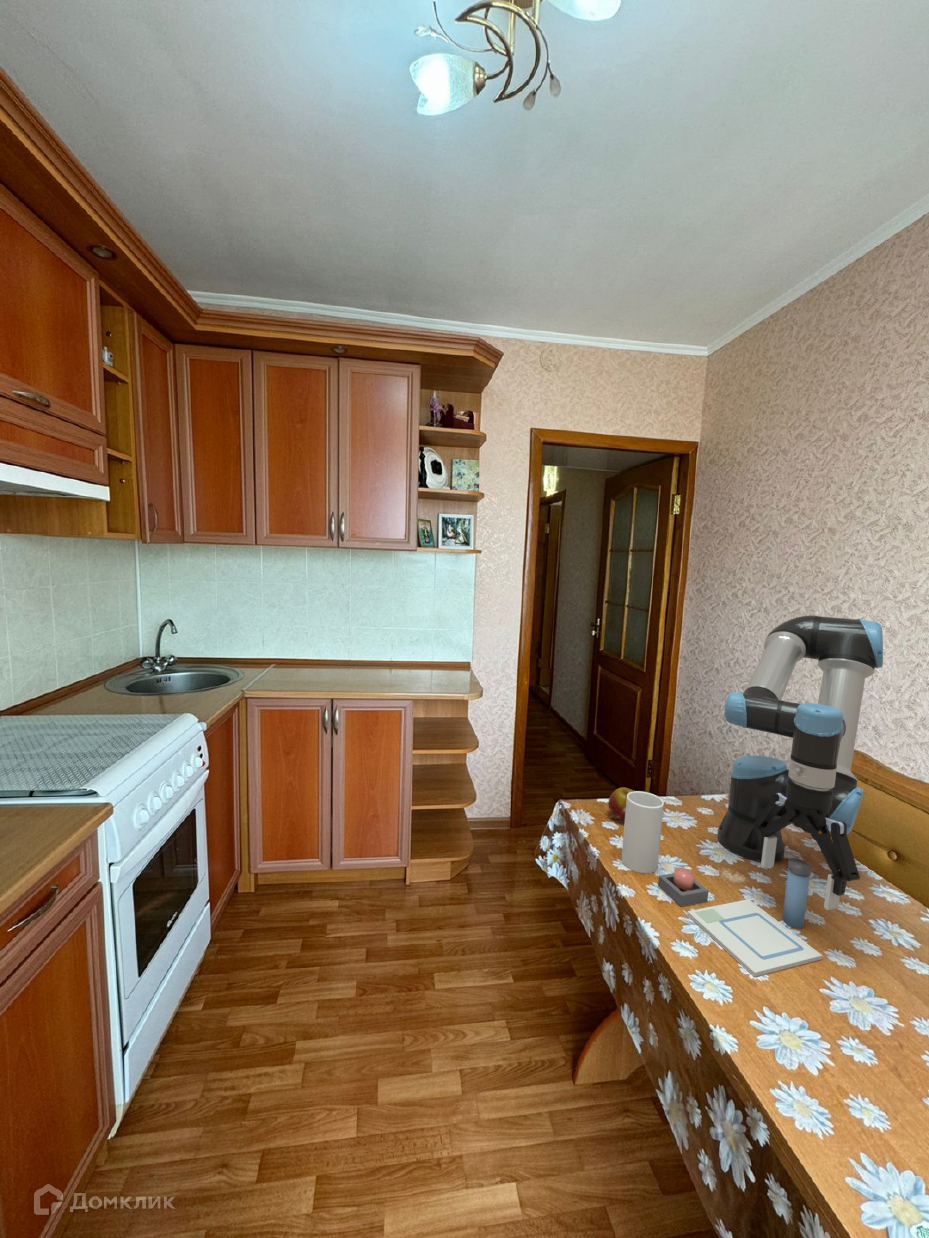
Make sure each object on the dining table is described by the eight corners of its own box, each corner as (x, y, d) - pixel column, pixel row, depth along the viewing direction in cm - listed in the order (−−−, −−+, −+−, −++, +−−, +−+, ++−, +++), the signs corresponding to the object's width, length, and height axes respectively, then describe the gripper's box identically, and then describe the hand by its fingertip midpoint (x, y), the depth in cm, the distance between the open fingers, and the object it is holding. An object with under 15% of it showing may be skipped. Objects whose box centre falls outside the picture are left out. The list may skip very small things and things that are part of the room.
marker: (791, 914, 104) (798, 857, 102) (808, 926, 100) (816, 867, 99) (777, 917, 103) (784, 859, 101) (794, 930, 99) (801, 870, 98)
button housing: (683, 881, 113) (684, 871, 113) (707, 901, 106) (708, 890, 106) (657, 885, 111) (658, 875, 111) (680, 906, 104) (681, 895, 104)
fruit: (636, 830, 135) (638, 801, 134) (602, 819, 140) (605, 792, 139) (644, 816, 143) (647, 789, 142) (613, 806, 148) (615, 780, 147)
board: (748, 902, 107) (748, 898, 107) (821, 959, 92) (822, 954, 91) (687, 914, 102) (687, 910, 102) (754, 976, 87) (754, 972, 87)
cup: (660, 876, 115) (667, 809, 113) (623, 870, 116) (629, 804, 115) (654, 856, 123) (660, 793, 121) (619, 850, 124) (625, 789, 123)
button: (684, 876, 111) (685, 866, 111) (697, 888, 107) (698, 877, 107) (669, 879, 110) (670, 868, 109) (682, 890, 106) (683, 879, 106)
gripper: (742, 760, 109) (731, 853, 111) (864, 815, 85) (847, 932, 87) (768, 759, 111) (757, 850, 113) (894, 811, 88) (877, 925, 90)
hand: (797, 886), depth 100 cm, fingers open, 13 cm apart
